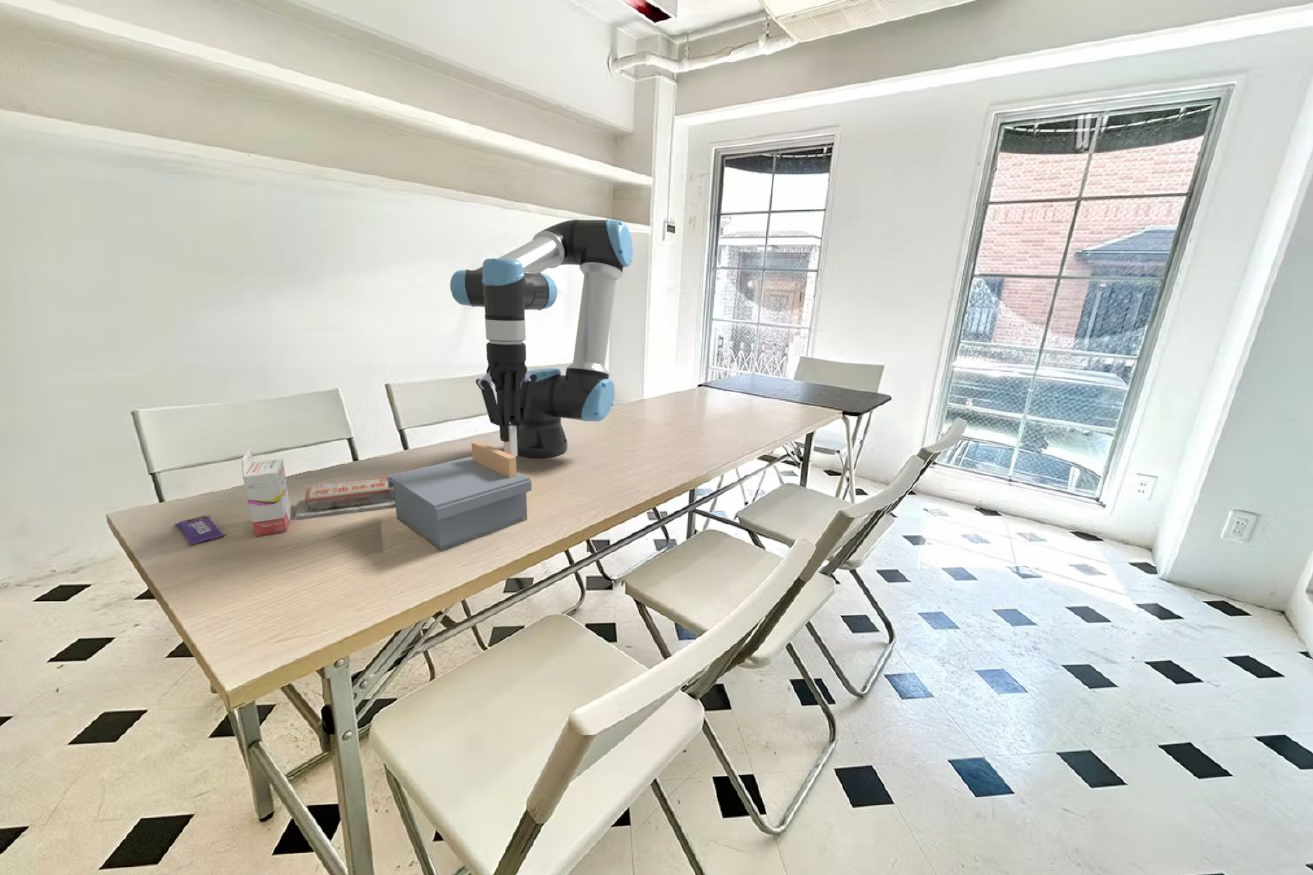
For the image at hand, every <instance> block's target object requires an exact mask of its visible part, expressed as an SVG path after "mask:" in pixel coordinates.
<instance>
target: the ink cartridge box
mask: <svg viewBox="0 0 1313 875" xmlns="http://www.w3.org/2000/svg"><path fill="white" fill-rule="evenodd" d="M241 469H242V470H241V472H242V479H243V483H244V484H243V486H244V487H245V488H244V489H245V493H246V494H245V495H246V499H247V503H248V508H249V512H250V517H251V523H252V527H253V532H254V536H255V537H258V536H265V535H272V534H278V533H285V532H287V530H288V527H289V524H290V521H291V518H292V514H293V513H292V512H293V511H292V507H291V502H290V496H289V490H288V484H287V477H286V472H285V466H284V459H283V458H279V459H278V458H277V459H270V460H263V461H254V459H253V448H252V447H250V448H249V449H248V450H247V452H245V454H244V456H242V458H241Z"/></svg>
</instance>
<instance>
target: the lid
mask: <svg viewBox="0 0 1313 875" xmlns="http://www.w3.org/2000/svg"><path fill="white" fill-rule="evenodd" d="M470 444H471V456H468V457H463V458H459V459H454V460H450V461H447V462H446V461H445V462H443V463H442V462H441V463H437V464H434V465H429V466H425V467H419V468H417V469H412V470H408V471H403V472H399V473H394V474H390V475H388V476H387V477H386V478H387V481H388V487H389V488H391V487H393V484H394V485H396V486H398V487H399V488H401V489H402V490H404V491H405V492H407V493H408V494H410V495H411V496H413V497H414V498H416V499H417V500H419V501H420V502H422V503H423V504H425V505H427V506H428V507H430V508H431V509H433V510H434V511H435V514H436V520H440V519H443V518H447V517H450V516H453V515H456V514H459V513H462V512H466V511H469V510H472V509H475V508H478V507H481V506H484V505H488V504H491V503H494V502H497V501H500V500H503V499H506V498H510V497H513V496H516V495H519V494H522V493H525V492H526V493H528V492H531V491H532V480H530V477H528V476H526V475H524V474H522V473H520V472H518V471H517V456H513V455H510V454H508V453H505V452H504V450H503V451H502V450H501V449H498V448H497V447H494V446H491V445H489V444H486V443H483V442H481V441H479V440H478V441H473V442H471V443H470Z"/></svg>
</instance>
